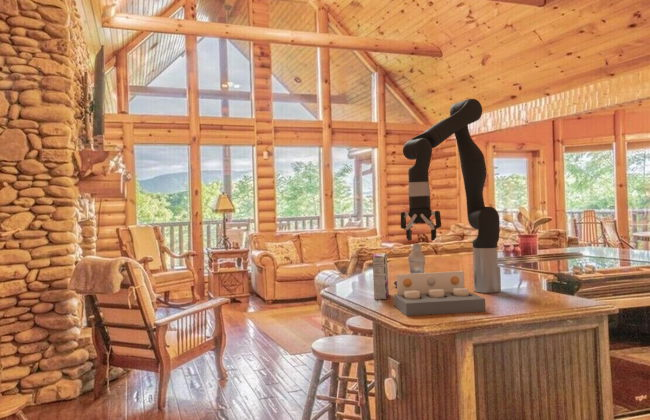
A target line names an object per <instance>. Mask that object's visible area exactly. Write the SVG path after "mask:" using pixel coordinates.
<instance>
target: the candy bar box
mask: <svg viewBox="0 0 650 420" xmlns="http://www.w3.org/2000/svg"><path fill="white" fill-rule="evenodd" d="M388 271H389V270H388V254H387V252H382V253H381V252H377V253H374V254H373V256H372V273H373V274H372V275H373V277H372V279H373V291H374V292H373V293H374V295H373V297H374V300H377V299H385V300H388V297H389V295H390V292H389V290H390V289H389V275H388V274H389V273H388Z"/></svg>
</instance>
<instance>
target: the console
mask: <svg viewBox="0 0 650 420" xmlns="http://www.w3.org/2000/svg"><path fill="white" fill-rule="evenodd" d="M396 281H397V286H396V293H394V294H393V299H394V300H393V301H394V302H393V303H394V305H395V306H396V307H395V306H394V307H395V308H397V310H399V311H400V312H401V313H402V314H404V315H405V316H406V317H412V316H413V315H415V316H429V315H430V314H432V315H444V314H446V315H447V314H449V315H450V314H461V313H462V314H463V313H478V312H479V313H481V312H487V311H486V310H487V309H486V298H484V297H482V296H479V295H477V294H475V293H473V292H470V291H469V296H460V297H455V296H454V295H453V288H459V287H462V288H466V287H465V271H464V270H461V271H460V270H457V271H439V272H435V271H434V272H424V273H416V274H410V273H399V274H396ZM430 289H443V290H444V297H442V298H430V297H429V290H430ZM407 290H417V291H420V299H405V294H404V291H407ZM413 317H414V316H413Z"/></svg>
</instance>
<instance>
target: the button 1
mask: <svg viewBox="0 0 650 420" xmlns="http://www.w3.org/2000/svg"><path fill="white" fill-rule="evenodd" d="M404 294H405V299H420V291H417V290H407V291H404Z"/></svg>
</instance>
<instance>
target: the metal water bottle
mask: <svg viewBox="0 0 650 420" xmlns="http://www.w3.org/2000/svg"><path fill="white" fill-rule="evenodd" d="M410 249H411V252H410V253H409V255H408V258H407V261H408V267H409V274H416V273H425V268H426V267H425V265H426V257H425V254H424V253H423V251H422V244H419V243H414V244H413V243H412V244H411V246H410Z"/></svg>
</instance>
